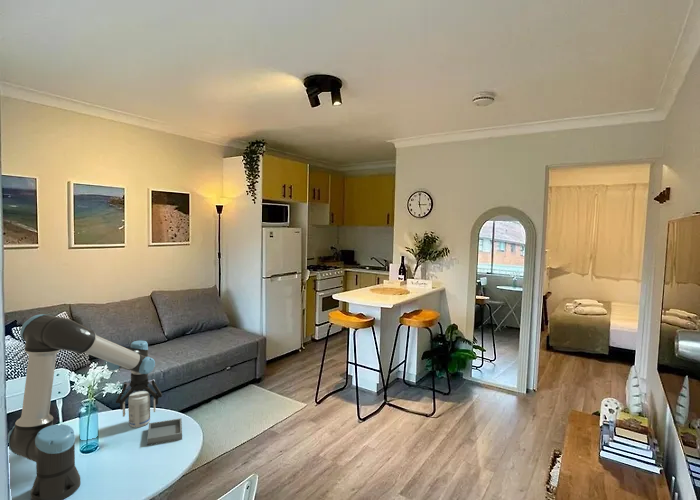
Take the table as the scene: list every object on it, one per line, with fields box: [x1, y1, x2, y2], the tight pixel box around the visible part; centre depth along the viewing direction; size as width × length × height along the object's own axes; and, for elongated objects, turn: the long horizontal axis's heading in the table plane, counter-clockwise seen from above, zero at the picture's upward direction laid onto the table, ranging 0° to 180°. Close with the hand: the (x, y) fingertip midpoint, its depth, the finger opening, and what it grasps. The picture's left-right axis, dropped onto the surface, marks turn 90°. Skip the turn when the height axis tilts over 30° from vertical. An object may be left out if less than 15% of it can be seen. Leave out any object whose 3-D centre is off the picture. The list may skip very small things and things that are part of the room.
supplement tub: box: [127, 390, 151, 428], centre depth 199 cm, size 10×10×15 cm
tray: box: [146, 417, 183, 446], centre depth 191 cm, size 15×15×3 cm
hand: (139, 413), depth 199 cm, fingers open, 13 cm apart
